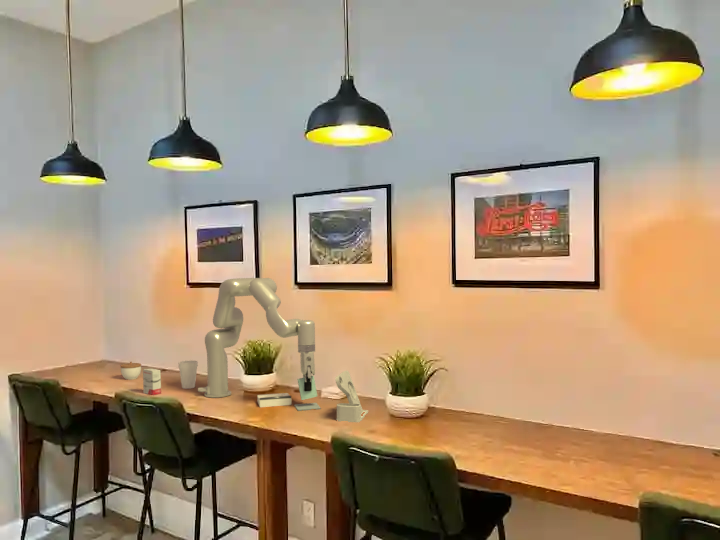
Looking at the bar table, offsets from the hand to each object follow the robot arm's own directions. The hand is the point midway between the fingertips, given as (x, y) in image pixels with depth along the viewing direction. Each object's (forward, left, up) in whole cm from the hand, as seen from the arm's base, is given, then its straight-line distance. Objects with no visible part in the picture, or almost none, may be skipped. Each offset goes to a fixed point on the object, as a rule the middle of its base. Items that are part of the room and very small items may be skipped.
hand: (307, 390), depth 263 cm
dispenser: (-13, +12, -8) cm, 19 cm away
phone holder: (+15, -21, -8) cm, 27 cm away
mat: (0, 0, -8) cm, 8 cm away
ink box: (-68, +51, -8) cm, 85 cm away
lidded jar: (-82, +94, -8) cm, 125 cm away
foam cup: (-51, +60, -8) cm, 79 cm away
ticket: (+1, 0, -3) cm, 4 cm away
